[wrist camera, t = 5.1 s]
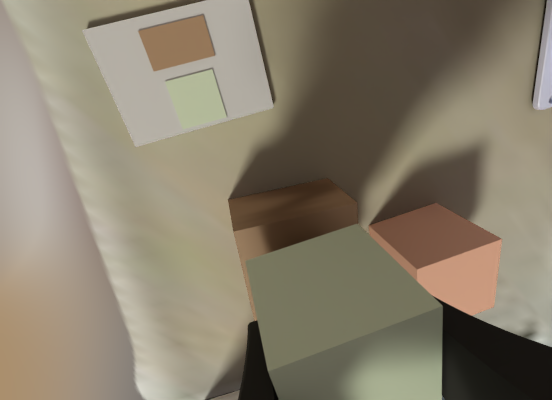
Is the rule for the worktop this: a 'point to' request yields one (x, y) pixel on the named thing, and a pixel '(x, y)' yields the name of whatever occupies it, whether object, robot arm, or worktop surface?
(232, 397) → the syrup box
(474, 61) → the worktop surface
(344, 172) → the worktop surface
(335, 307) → the sage block
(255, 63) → the card
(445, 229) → the terracotta block
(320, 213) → the walnut block
